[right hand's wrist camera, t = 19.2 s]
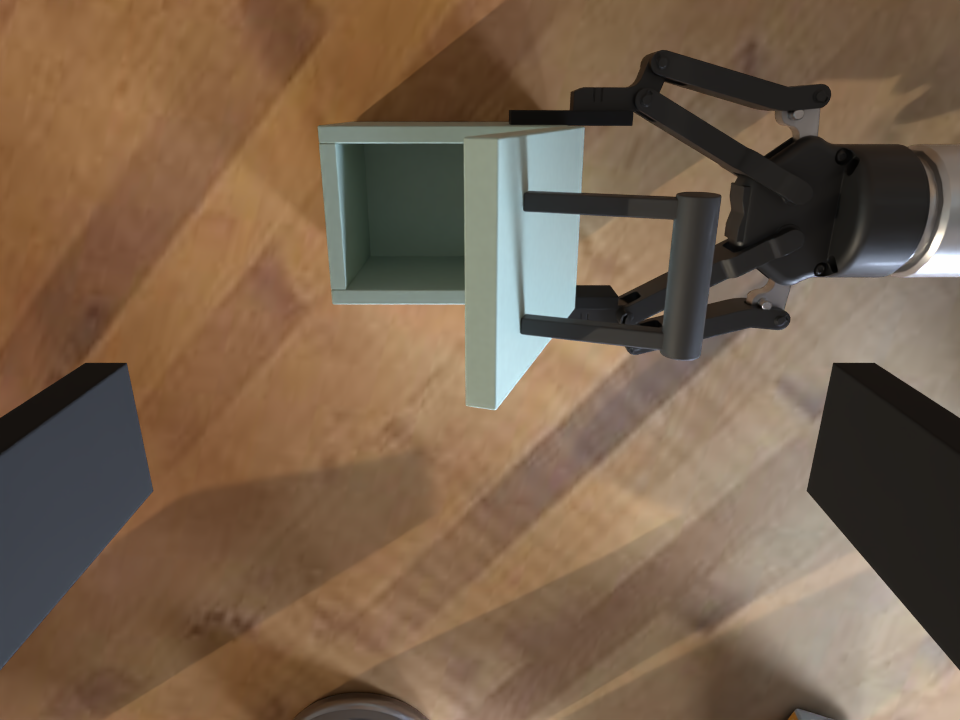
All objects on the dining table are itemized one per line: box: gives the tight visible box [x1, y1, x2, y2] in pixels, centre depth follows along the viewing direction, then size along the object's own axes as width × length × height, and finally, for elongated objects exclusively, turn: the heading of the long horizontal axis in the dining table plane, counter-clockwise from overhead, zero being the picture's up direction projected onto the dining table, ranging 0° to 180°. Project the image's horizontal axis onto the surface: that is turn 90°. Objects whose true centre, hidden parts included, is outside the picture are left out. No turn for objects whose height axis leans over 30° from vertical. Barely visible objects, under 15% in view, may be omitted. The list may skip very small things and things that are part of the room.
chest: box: [318, 122, 568, 304], centre depth 40 cm, size 13×10×10 cm
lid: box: [464, 126, 721, 410], centre depth 28 cm, size 14×10×8 cm
